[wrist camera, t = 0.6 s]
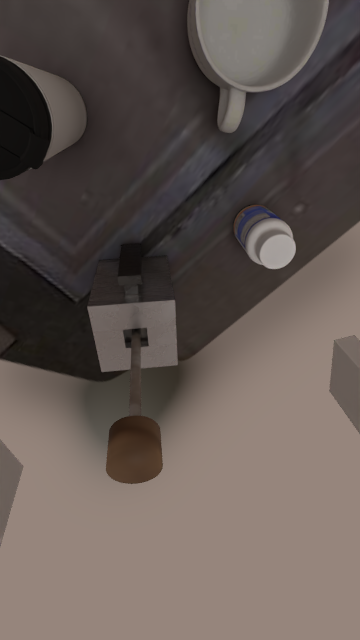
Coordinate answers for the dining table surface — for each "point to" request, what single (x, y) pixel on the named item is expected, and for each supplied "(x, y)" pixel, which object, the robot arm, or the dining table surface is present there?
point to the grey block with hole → (133, 309)
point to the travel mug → (35, 116)
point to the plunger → (134, 429)
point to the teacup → (252, 46)
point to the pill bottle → (264, 237)
